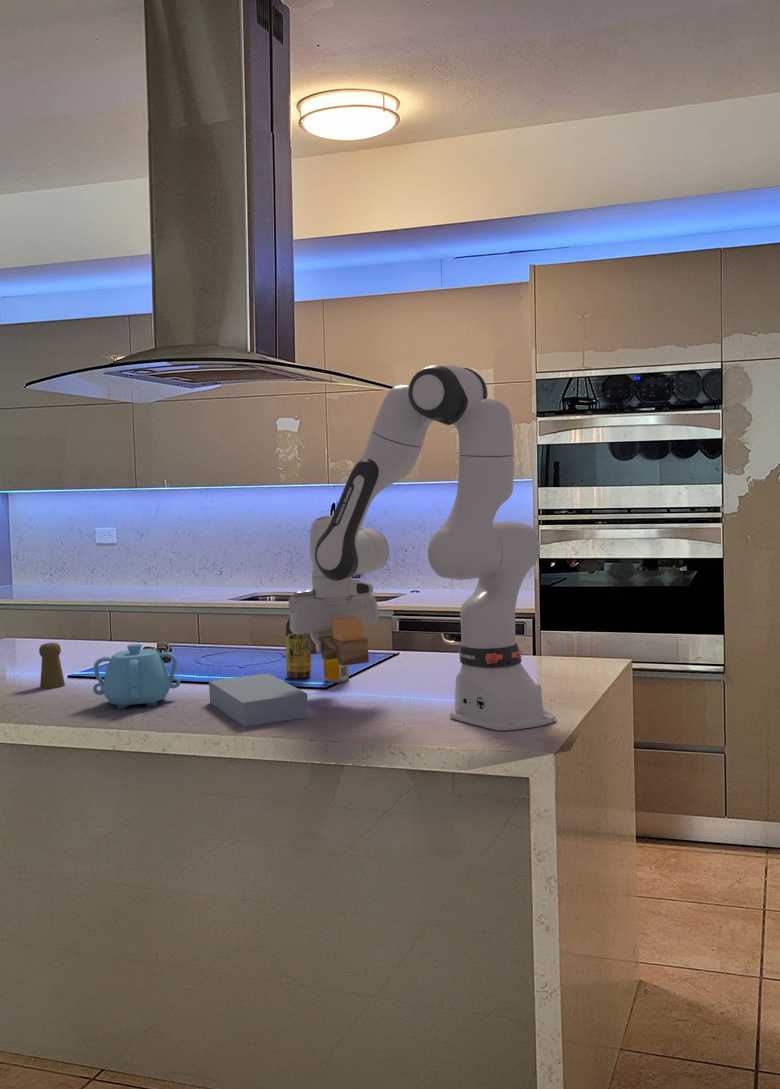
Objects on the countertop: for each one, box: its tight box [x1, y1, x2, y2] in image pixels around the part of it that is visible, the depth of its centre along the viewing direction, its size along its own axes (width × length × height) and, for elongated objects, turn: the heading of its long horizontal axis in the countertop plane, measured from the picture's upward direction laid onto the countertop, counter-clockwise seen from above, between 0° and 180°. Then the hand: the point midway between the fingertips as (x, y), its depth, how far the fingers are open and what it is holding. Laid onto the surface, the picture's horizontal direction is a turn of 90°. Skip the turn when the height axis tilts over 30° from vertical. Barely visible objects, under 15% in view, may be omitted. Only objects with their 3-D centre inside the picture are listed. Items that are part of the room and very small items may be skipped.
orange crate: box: [332, 616, 364, 641], centre depth 219 cm, size 5×5×4 cm
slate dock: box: [208, 673, 309, 728], centre depth 221 cm, size 26×14×5 cm, turn 25°
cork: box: [38, 642, 66, 690], centre depth 257 cm, size 6×6×11 cm
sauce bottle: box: [285, 617, 312, 679], centre depth 254 cm, size 6×6×20 cm
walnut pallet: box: [306, 632, 370, 666], centre depth 226 cm, size 22×6×5 cm, turn 25°
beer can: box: [322, 658, 350, 684], centre depth 248 cm, size 6×6×15 cm
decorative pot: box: [92, 643, 181, 709], centre depth 234 cm, size 16×16×14 cm
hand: (336, 650), depth 226 cm, fingers closed on walnut pallet, 6 cm apart
